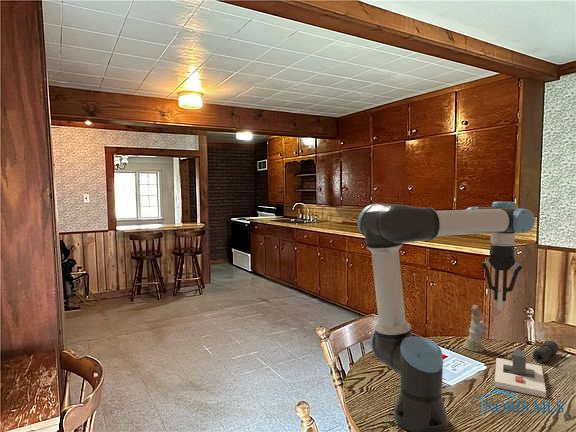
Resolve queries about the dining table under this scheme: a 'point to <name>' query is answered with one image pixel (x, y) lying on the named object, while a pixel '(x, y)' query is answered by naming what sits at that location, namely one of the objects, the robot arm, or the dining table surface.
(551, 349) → the flashlight
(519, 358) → the plug
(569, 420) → the dining table surface
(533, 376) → the socket plate
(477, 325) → the figurine
